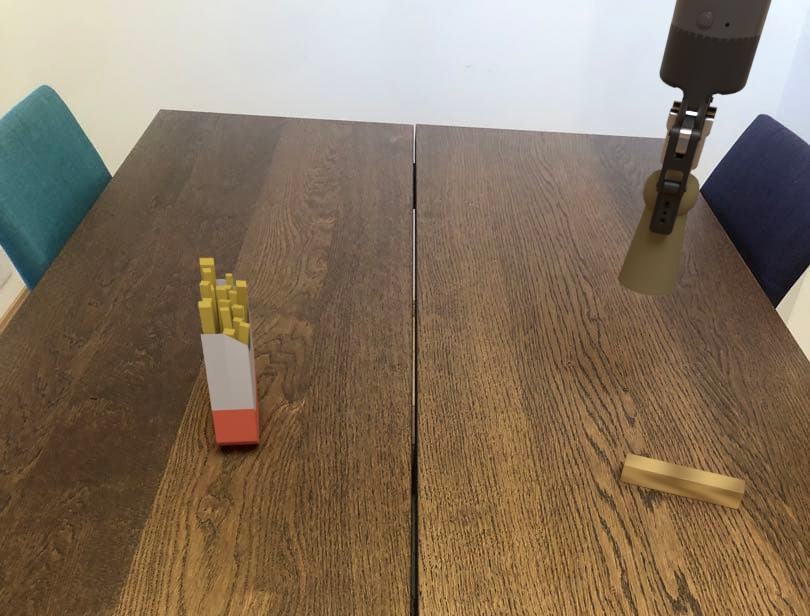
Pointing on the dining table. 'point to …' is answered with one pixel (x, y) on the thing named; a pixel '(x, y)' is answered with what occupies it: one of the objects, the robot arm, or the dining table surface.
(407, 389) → the dining table surface
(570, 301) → the dining table surface
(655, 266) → the olive pawn
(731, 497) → the golden stick
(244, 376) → the french fries container
